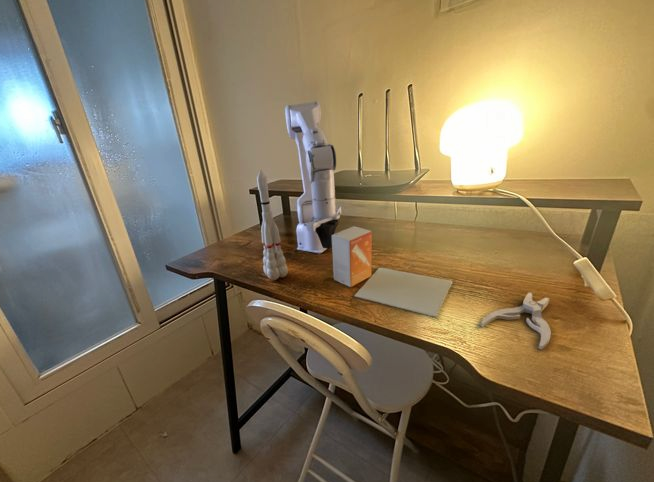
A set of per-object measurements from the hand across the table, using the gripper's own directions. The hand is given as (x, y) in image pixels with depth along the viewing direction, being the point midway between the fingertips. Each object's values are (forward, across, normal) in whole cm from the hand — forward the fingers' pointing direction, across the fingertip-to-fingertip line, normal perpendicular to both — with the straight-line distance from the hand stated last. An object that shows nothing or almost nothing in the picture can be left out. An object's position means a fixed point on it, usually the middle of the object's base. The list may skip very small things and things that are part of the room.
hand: (326, 247), depth 81 cm
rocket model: (+8, -8, +13) cm, 17 cm away
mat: (+8, 0, -20) cm, 22 cm away
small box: (+8, 0, -7) cm, 11 cm away
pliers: (+8, -1, -43) cm, 44 cm away
